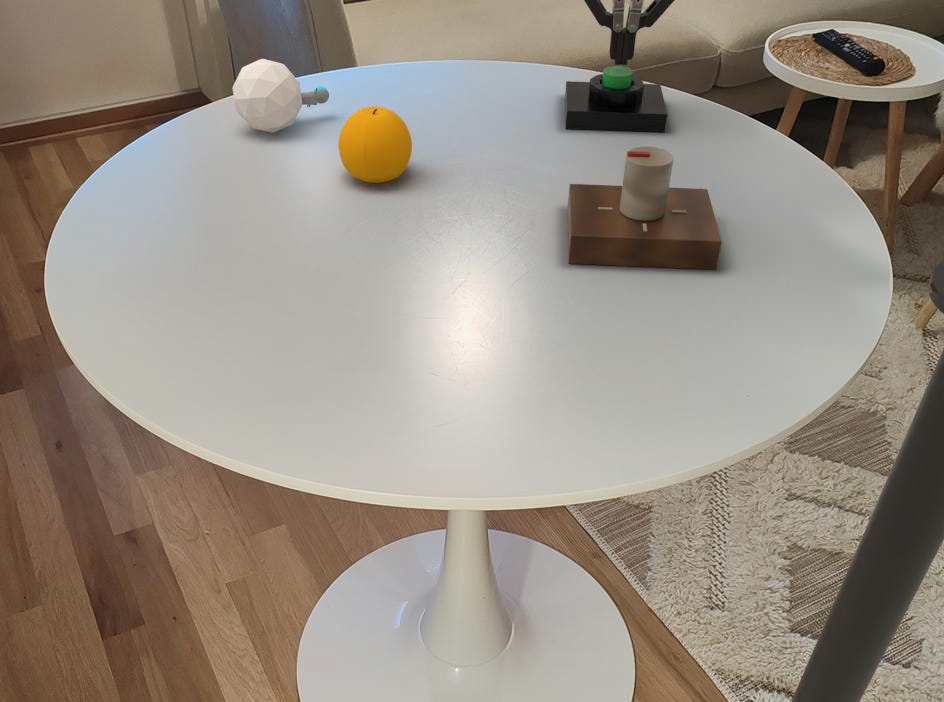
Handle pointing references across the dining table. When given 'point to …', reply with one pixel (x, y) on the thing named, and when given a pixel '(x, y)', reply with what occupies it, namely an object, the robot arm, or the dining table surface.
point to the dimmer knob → (646, 183)
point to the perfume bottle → (271, 96)
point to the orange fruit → (375, 144)
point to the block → (614, 106)
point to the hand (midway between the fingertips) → (620, 62)
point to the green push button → (617, 77)
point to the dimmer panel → (641, 230)
